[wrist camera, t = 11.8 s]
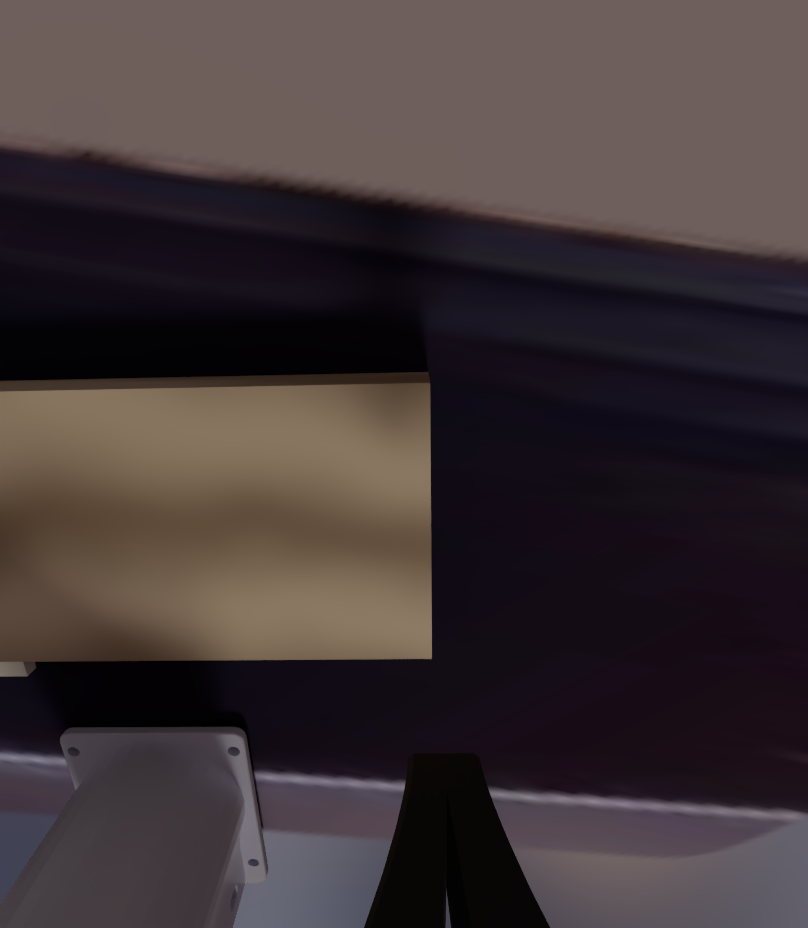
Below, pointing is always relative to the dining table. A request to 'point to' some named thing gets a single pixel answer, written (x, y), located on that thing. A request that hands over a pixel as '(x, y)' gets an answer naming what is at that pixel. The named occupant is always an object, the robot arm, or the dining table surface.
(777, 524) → the dining table surface
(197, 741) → the robot arm
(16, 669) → the mat
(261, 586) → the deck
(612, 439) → the dining table surface
